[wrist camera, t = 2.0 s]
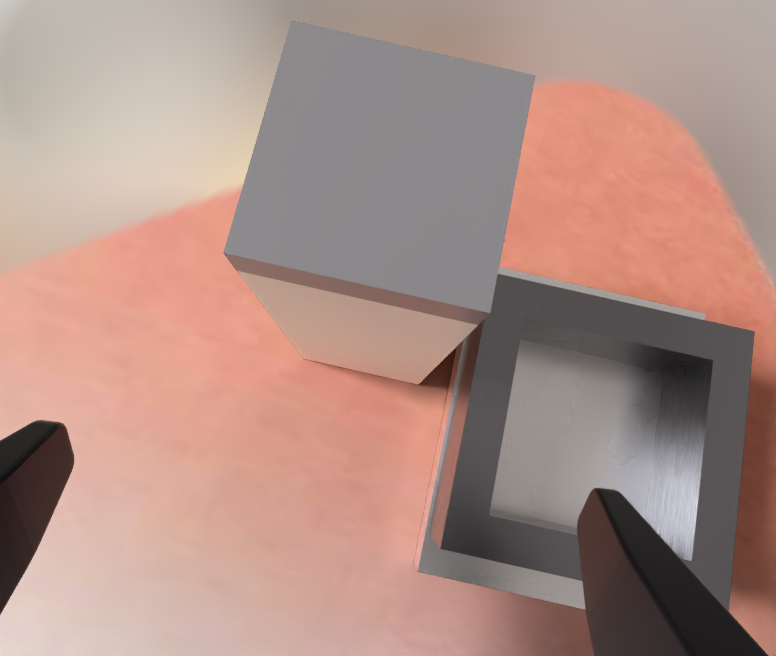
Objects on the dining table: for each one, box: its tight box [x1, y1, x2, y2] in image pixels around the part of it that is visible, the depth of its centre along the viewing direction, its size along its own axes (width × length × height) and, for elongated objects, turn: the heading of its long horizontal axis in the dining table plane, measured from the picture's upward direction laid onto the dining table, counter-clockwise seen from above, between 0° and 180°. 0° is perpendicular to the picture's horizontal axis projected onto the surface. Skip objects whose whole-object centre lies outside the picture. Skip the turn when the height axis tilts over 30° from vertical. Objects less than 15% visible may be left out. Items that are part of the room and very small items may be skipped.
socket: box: [414, 267, 754, 610], centre depth 19 cm, size 11×9×4 cm
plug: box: [224, 21, 535, 385], centre depth 16 cm, size 4×4×12 cm
